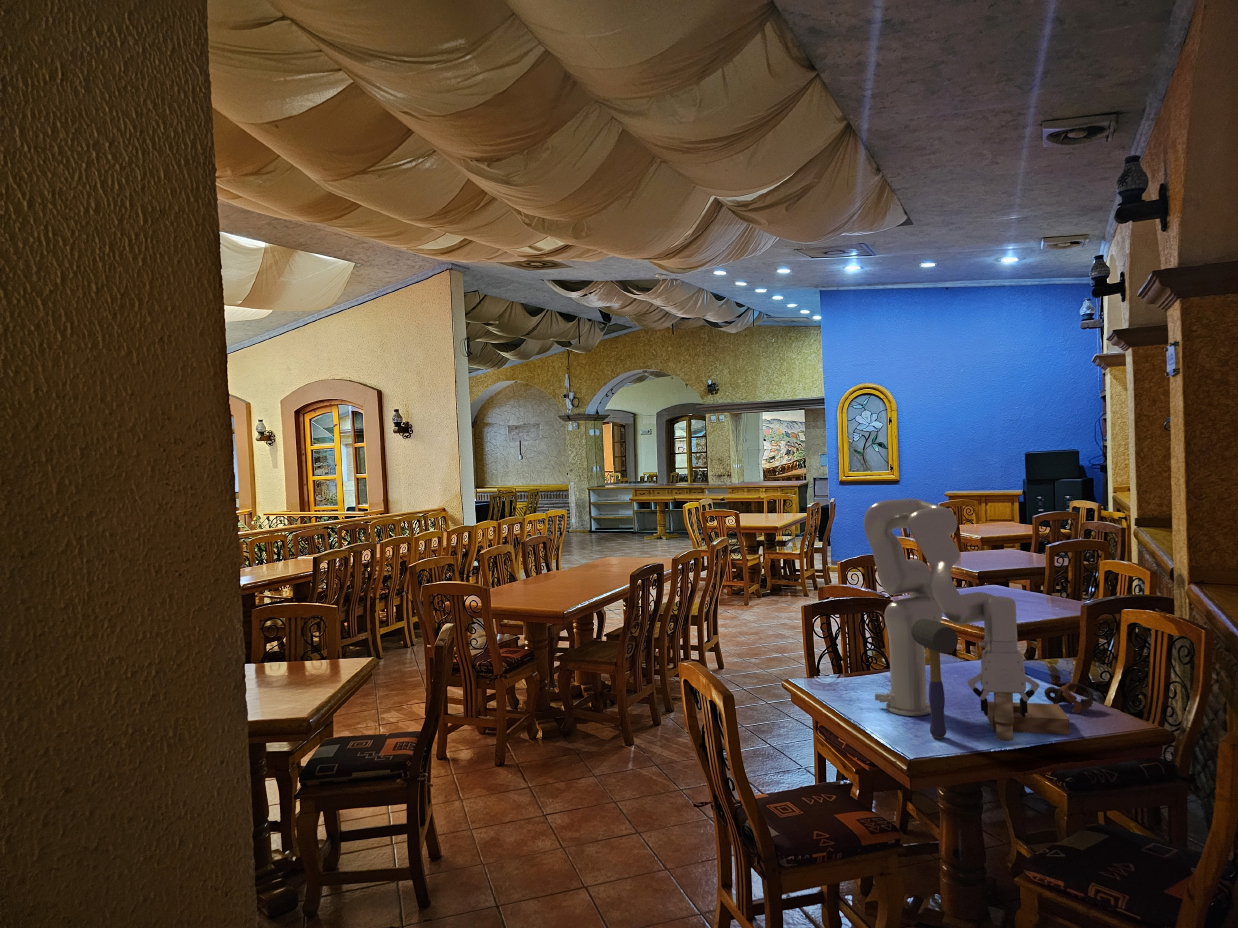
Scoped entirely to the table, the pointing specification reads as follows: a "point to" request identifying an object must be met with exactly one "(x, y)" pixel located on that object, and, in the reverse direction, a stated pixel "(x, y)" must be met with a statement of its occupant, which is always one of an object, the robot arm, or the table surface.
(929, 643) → the rubber mallet
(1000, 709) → the peg
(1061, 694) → the dark looped piece
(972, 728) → the table surface
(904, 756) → the table surface
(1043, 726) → the board
